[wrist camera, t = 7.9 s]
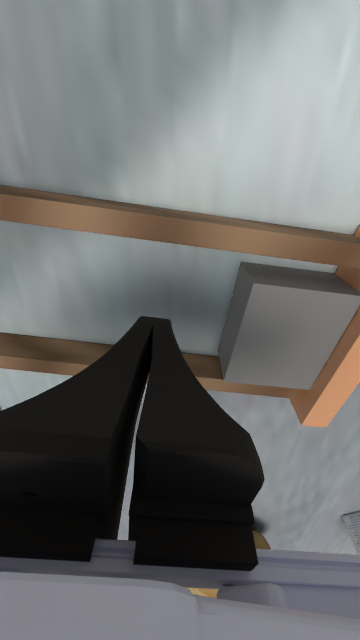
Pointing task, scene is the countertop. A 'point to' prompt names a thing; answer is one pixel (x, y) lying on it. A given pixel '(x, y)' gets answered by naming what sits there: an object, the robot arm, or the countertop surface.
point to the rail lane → (202, 231)
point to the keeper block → (283, 325)
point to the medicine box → (353, 528)
